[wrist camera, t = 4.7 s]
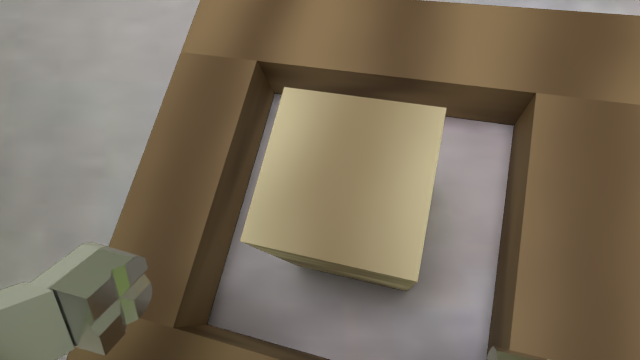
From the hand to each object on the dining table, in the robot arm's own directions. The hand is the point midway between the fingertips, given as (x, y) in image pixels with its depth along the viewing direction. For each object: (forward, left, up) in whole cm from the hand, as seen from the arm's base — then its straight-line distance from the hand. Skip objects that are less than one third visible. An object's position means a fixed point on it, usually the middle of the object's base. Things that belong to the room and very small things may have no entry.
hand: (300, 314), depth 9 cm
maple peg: (0, +4, -9) cm, 10 cm away
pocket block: (0, +4, -9) cm, 10 cm away
